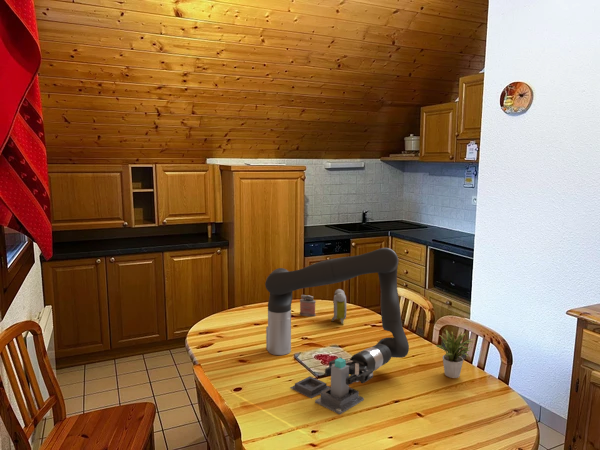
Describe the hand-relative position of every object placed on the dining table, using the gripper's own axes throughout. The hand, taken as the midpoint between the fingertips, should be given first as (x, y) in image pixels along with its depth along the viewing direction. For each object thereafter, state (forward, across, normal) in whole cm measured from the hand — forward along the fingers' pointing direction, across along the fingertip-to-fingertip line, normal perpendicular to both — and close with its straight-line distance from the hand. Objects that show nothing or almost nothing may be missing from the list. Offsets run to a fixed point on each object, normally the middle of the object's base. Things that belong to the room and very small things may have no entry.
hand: (336, 377), depth 144 cm
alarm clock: (-59, -48, +9) cm, 76 cm away
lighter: (-56, -64, +9) cm, 86 cm away
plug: (-2, 0, +8) cm, 8 cm away
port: (-2, 0, +9) cm, 9 cm away
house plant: (-44, +18, +9) cm, 48 cm away
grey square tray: (-2, -12, +9) cm, 16 cm away
